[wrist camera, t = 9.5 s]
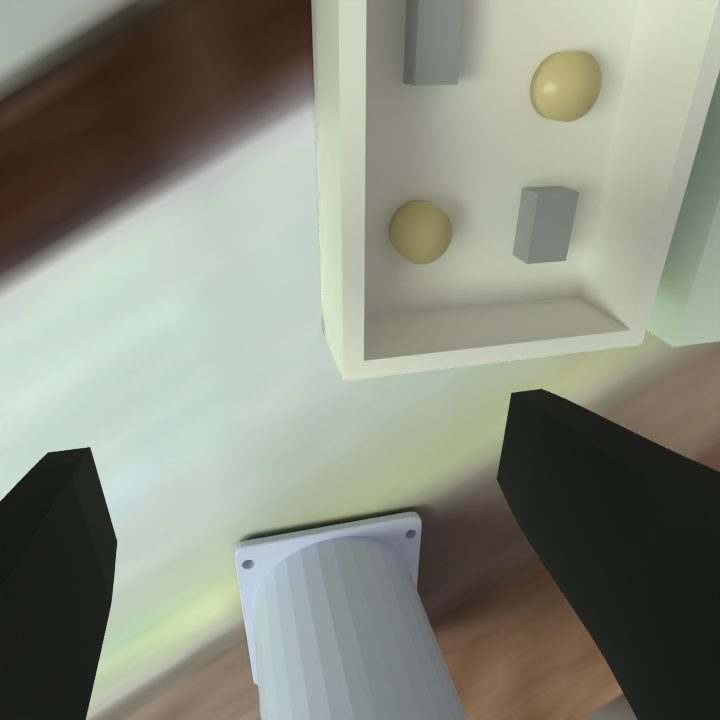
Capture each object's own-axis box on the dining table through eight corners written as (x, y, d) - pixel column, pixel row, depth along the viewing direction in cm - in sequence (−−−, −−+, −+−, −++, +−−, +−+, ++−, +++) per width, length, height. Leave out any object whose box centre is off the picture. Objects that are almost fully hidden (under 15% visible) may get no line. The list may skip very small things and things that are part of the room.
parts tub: (580, 303, 21) (641, 344, 18) (322, 330, 19) (343, 381, 16) (665, -98, 15) (777, -136, 12) (307, -124, 13) (336, -177, 10)
